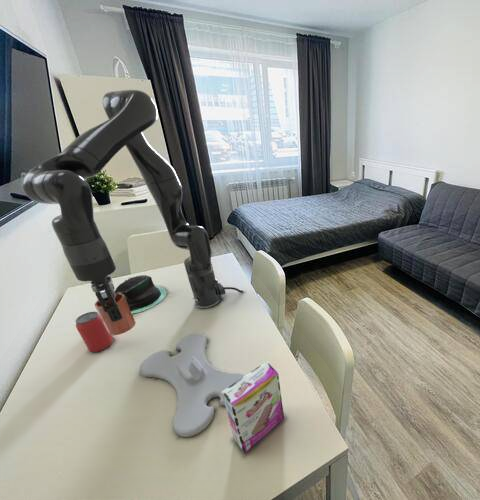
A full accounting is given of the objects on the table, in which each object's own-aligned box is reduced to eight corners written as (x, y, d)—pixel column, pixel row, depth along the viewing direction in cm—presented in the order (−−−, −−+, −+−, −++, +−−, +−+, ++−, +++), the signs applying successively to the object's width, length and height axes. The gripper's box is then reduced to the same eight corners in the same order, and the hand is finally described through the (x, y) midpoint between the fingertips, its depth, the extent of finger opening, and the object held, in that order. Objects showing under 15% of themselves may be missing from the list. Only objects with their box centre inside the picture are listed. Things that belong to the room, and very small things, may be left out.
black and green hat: (147, 313, 103) (94, 317, 103) (175, 306, 122) (130, 309, 121) (146, 274, 104) (93, 278, 104) (174, 273, 123) (129, 276, 122)
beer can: (100, 354, 86) (84, 325, 81) (83, 351, 88) (67, 322, 82) (118, 339, 92) (105, 311, 87) (103, 337, 93) (88, 309, 88)
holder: (183, 446, 61) (177, 433, 59) (137, 366, 81) (131, 354, 79) (255, 389, 74) (252, 376, 72) (199, 332, 94) (196, 321, 92)
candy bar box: (245, 456, 59) (231, 407, 52) (233, 439, 62) (219, 391, 55) (286, 418, 66) (278, 371, 59) (274, 405, 69) (266, 359, 62)
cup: (133, 316, 77) (122, 290, 73) (137, 327, 72) (125, 300, 69) (107, 326, 73) (94, 299, 69) (109, 338, 69) (95, 310, 65)
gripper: (112, 262, 61) (137, 320, 68) (107, 243, 71) (129, 296, 78) (68, 273, 56) (99, 335, 64) (69, 252, 66) (96, 307, 74)
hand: (116, 313), depth 71 cm, fingers closed on cup, 6 cm apart
